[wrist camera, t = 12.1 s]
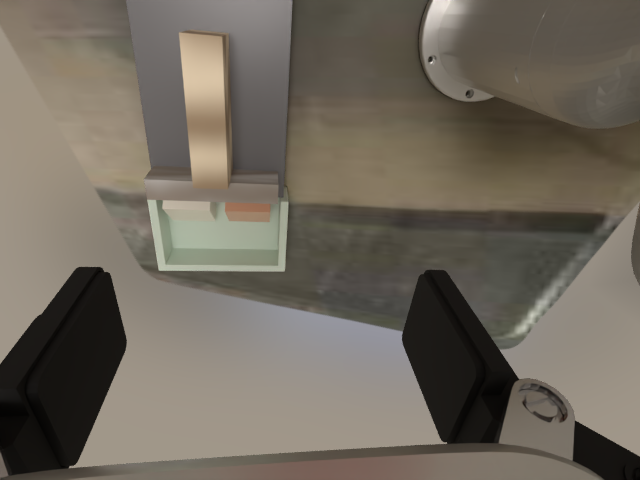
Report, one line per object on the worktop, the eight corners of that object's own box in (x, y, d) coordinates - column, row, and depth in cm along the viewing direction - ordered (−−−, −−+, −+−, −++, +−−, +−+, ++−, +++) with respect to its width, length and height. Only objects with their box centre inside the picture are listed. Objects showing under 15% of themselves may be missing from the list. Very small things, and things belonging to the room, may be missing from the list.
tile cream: (163, 189, 37) (162, 208, 36) (210, 191, 37) (209, 210, 37) (174, 202, 41) (173, 220, 40) (216, 204, 42) (215, 221, 41)
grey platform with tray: (106, -176, 26) (81, -204, 23) (303, -143, 28) (308, -164, 25) (167, 250, 45) (158, 270, 41) (283, 252, 47) (284, 271, 43)
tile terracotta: (225, 191, 37) (224, 211, 37) (270, 193, 38) (270, 212, 38) (229, 203, 42) (229, 221, 41) (269, 205, 42) (269, 222, 42)
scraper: (133, 23, 30) (111, 25, 26) (282, 38, 32) (284, 42, 27) (157, 184, 37) (142, 206, 33) (277, 189, 39) (278, 211, 35)
